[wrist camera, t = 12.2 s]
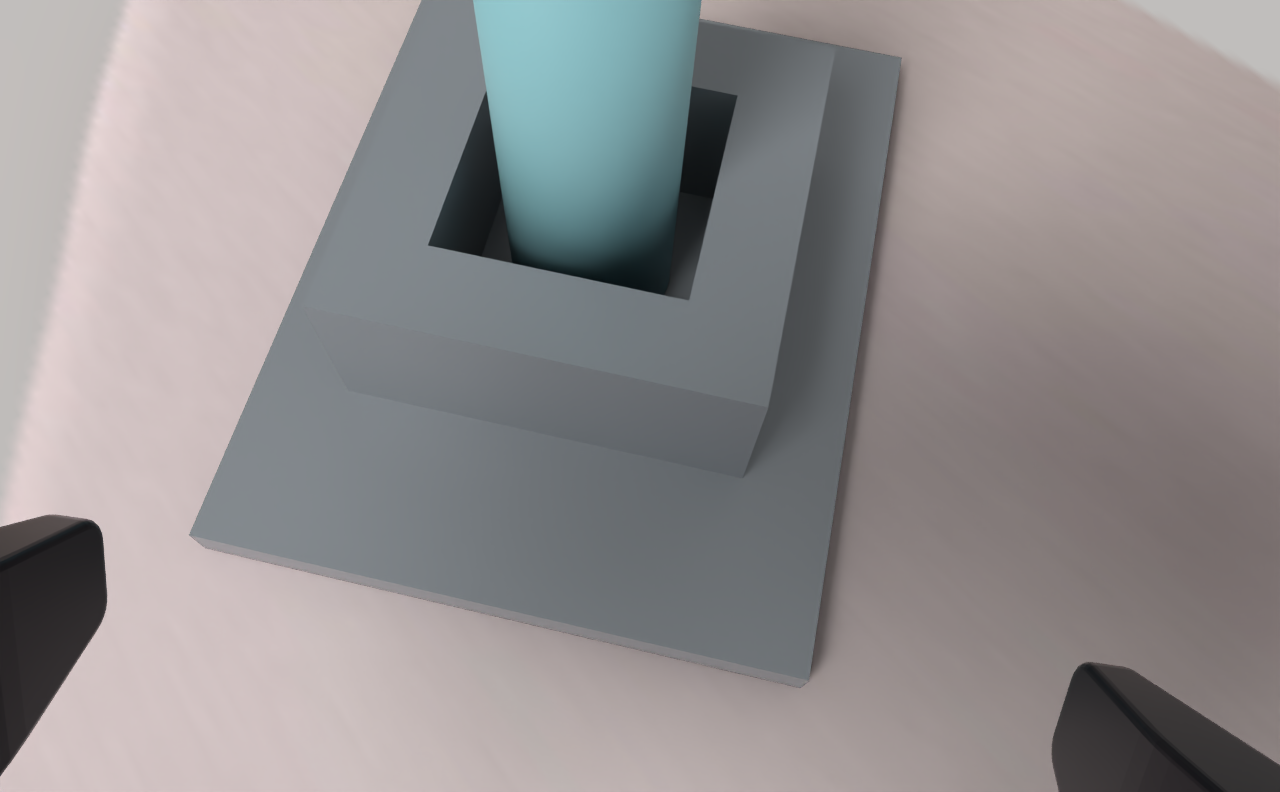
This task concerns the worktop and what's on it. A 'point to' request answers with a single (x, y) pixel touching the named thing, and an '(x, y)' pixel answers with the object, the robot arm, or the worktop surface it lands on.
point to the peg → (590, 130)
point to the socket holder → (579, 368)
